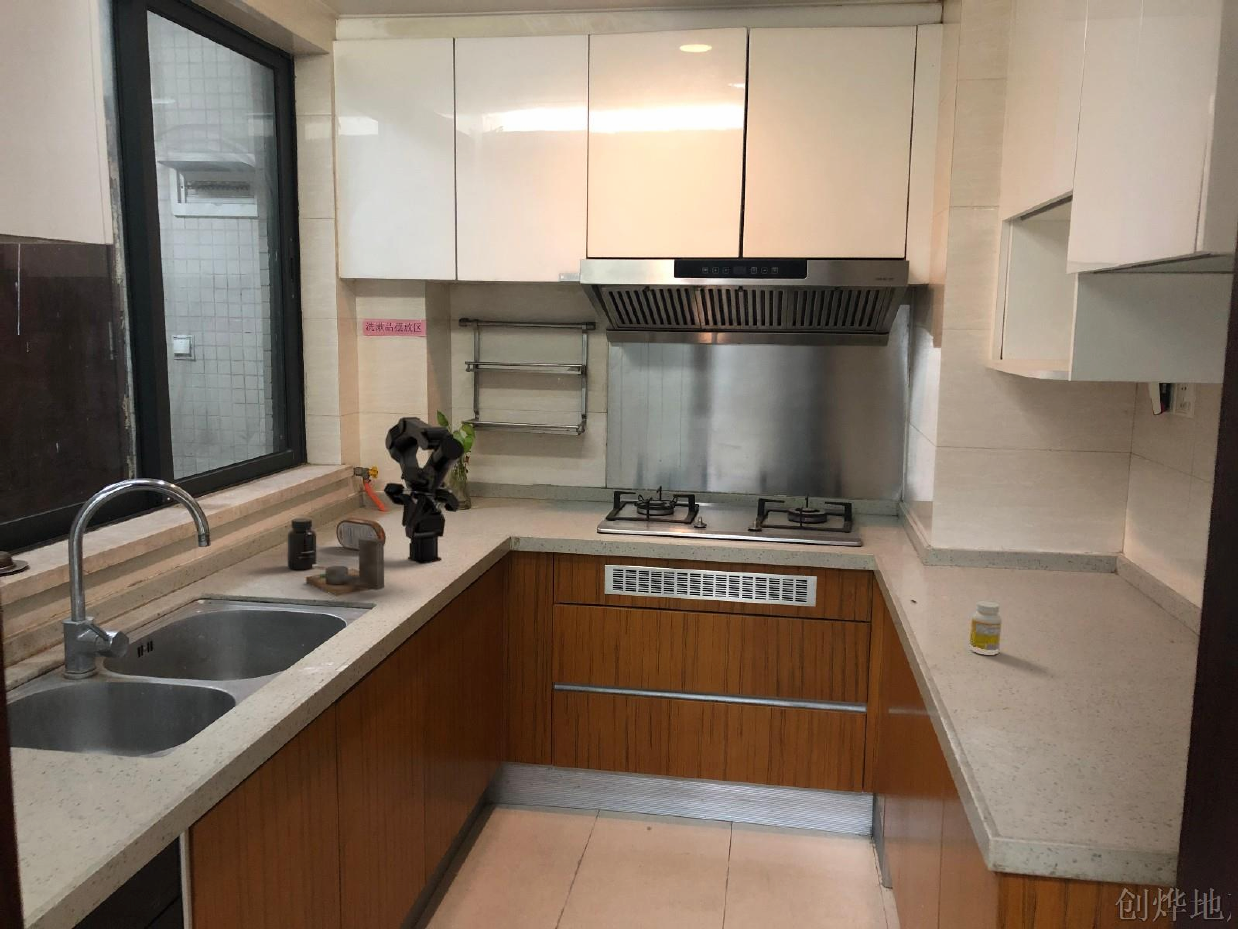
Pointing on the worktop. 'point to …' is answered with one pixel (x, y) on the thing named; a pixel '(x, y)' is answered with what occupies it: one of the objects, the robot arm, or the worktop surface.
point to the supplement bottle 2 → (986, 626)
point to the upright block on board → (361, 566)
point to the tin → (358, 532)
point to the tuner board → (335, 589)
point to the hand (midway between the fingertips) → (406, 526)
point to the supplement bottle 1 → (301, 545)
